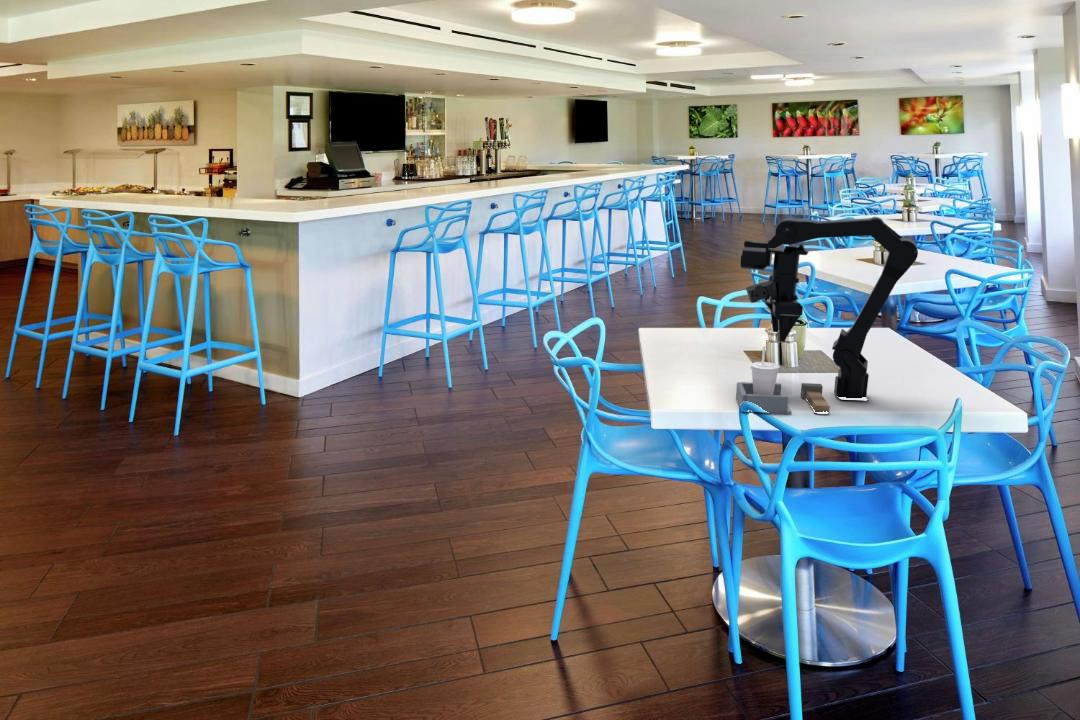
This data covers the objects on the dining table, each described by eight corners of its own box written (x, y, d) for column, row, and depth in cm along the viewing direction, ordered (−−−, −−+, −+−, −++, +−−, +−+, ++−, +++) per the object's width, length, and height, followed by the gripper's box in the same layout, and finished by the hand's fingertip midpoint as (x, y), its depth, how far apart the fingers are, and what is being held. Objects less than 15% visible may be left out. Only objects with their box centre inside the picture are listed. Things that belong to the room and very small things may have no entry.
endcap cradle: (783, 400, 199) (785, 383, 198) (791, 414, 189) (792, 397, 188) (736, 398, 200) (737, 382, 199) (741, 412, 190) (742, 395, 189)
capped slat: (800, 395, 203) (801, 383, 202) (819, 396, 202) (820, 383, 201) (811, 414, 189) (813, 400, 189) (832, 415, 189) (833, 401, 188)
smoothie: (748, 400, 199) (752, 342, 195) (776, 402, 197) (781, 344, 194) (747, 409, 193) (751, 349, 189) (777, 411, 191) (781, 350, 188)
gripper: (745, 264, 210) (739, 326, 214) (756, 277, 192) (749, 344, 196) (791, 266, 209) (784, 328, 213) (806, 279, 191) (799, 346, 195)
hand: (778, 336), depth 205 cm, fingers open, 9 cm apart
